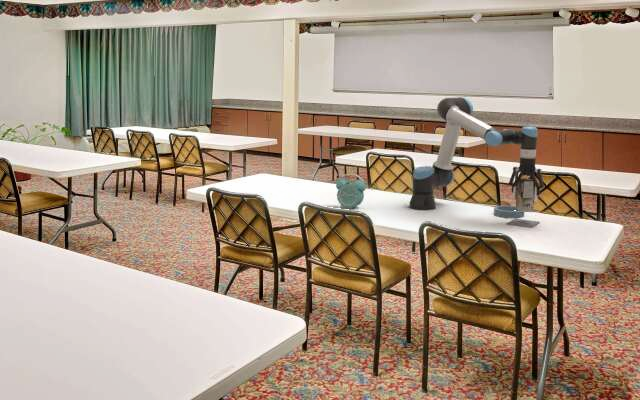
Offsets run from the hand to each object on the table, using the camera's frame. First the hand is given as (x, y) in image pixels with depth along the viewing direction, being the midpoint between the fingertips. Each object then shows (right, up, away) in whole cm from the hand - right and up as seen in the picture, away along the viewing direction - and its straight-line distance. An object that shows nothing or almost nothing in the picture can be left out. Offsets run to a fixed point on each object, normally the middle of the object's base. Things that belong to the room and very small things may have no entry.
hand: (525, 200), depth 317 cm
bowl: (-2, -8, +22) cm, 23 cm away
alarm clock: (-88, -5, +39) cm, 96 cm away
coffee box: (0, -5, +1) cm, 5 cm away
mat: (0, -12, +3) cm, 12 cm away
